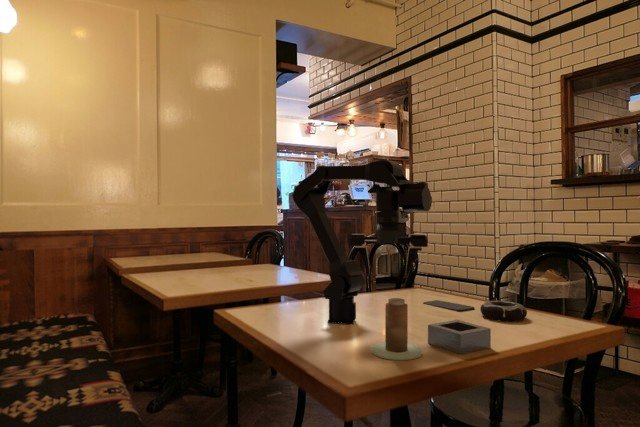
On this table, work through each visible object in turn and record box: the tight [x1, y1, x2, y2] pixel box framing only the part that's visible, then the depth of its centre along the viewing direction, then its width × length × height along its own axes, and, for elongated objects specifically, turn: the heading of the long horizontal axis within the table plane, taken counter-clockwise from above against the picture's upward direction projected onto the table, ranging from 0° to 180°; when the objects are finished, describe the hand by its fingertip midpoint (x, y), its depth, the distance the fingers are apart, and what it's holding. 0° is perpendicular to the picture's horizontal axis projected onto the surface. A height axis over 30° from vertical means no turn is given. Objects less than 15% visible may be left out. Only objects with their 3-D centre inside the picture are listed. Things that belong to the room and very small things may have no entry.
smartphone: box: [422, 299, 475, 313], centre depth 133 cm, size 7×1×15 cm
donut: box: [480, 300, 528, 323], centre depth 118 cm, size 12×12×4 cm
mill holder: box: [427, 319, 492, 355], centre depth 92 cm, size 9×9×4 cm
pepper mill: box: [384, 297, 409, 353], centre depth 88 cm, size 4×4×10 cm
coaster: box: [371, 341, 423, 361], centre depth 88 cm, size 10×10×1 cm
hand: (387, 275), depth 106 cm, fingers open, 9 cm apart
